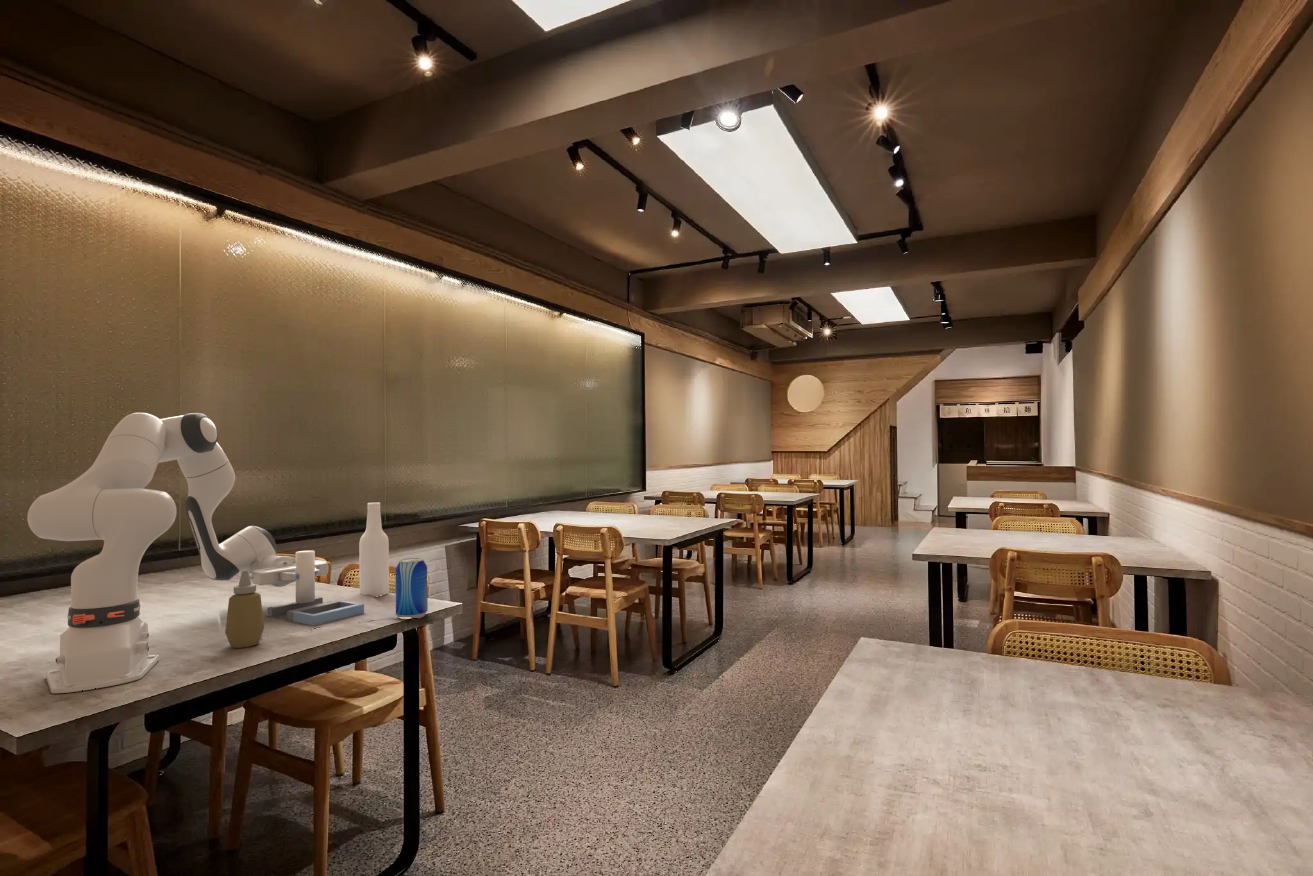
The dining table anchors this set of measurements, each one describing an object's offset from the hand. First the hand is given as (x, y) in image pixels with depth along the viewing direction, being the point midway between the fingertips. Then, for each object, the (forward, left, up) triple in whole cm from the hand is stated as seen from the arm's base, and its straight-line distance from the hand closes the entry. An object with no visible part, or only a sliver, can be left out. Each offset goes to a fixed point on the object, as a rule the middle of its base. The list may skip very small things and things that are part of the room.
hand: (307, 574), depth 187 cm
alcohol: (+19, -22, -12) cm, 31 cm away
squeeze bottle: (-21, +16, -12) cm, 29 cm away
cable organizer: (-3, -2, -12) cm, 12 cm away
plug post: (+1, 0, -8) cm, 8 cm away
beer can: (-18, -24, -12) cm, 32 cm away
